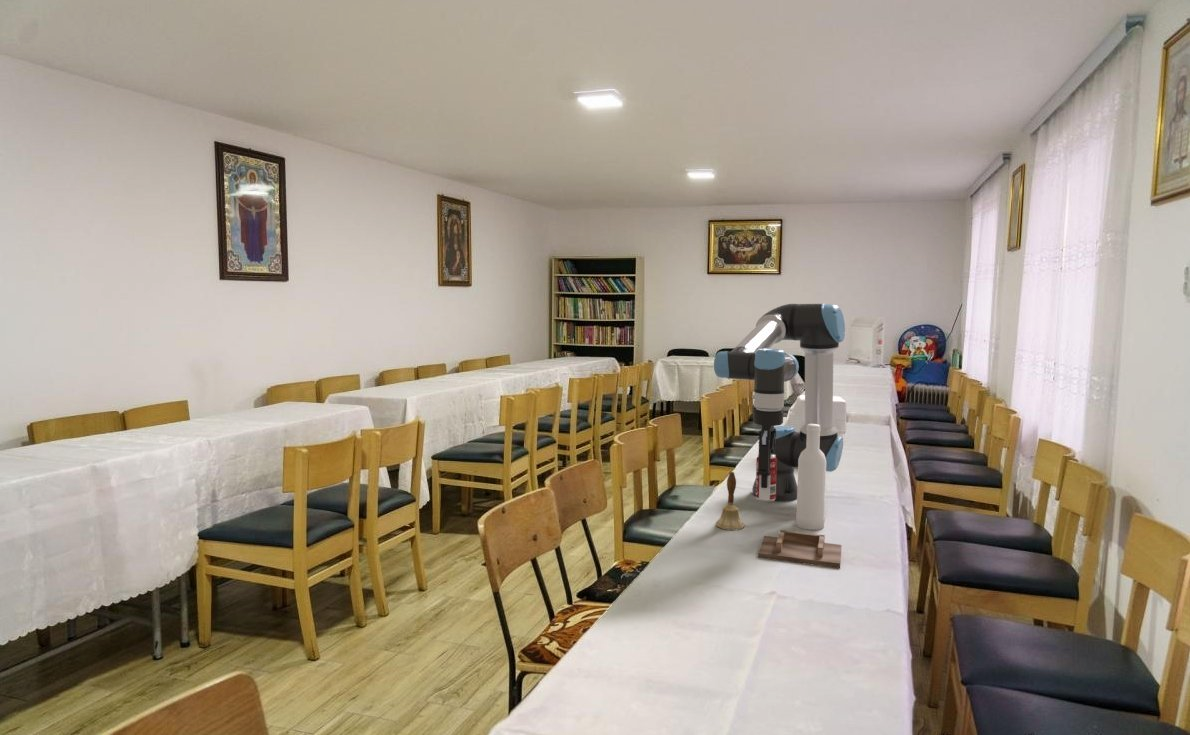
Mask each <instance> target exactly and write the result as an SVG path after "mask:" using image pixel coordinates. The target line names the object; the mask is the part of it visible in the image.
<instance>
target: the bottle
mask: <svg viewBox="0 0 1190 735" xmlns="http://www.w3.org/2000/svg"><path fill="white" fill-rule="evenodd" d="M806 430H807V441H806V449H804V450H803V451H802V452H801V454H800V456H799V459H798V468H797V499H796V513H795V521H796V522H795V524H796V526H797V527H798V528H800V529H804V530H807V529H808V530H810V531H818V530H823V528H825V519H826V517H825V513H826V512H825V511H826V510H825V508H826V507H825V506H826V505H825V504H826V487H827V486H826V484H827V483H826V482H827V471H826V458H825V455H824V453H823V452H822V451H821V450H820V449H819V443H820V431H821V430H820V425H818V424H808V425H807V428H806Z"/></svg>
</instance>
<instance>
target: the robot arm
mask: <svg viewBox="0 0 1190 735" xmlns="http://www.w3.org/2000/svg"><path fill="white" fill-rule="evenodd" d="M845 332H846V324H845V318H844V313H843V311H842V309H841V308H840V306H838V305H837V304H831V303H788V304H787V303H785V304H783V305H780V306H777V307H775V308H772V309H771V310H768V311H767V312H766V313H764V314H763V315H762V316H760V318H759V319H758V320H757V322H756V324H755V327H754V328H752V330H751V331H750V332H749V333H748V334H746V336H745V337H744V338H742V340H741V341H740V342H739V343H738V344H737V345H736V346H735V347H733V349H732V350H731V351H729V350H725V351H718V352H717V353H716V355H715V356H714V361H713V370H714V373H715V376H717V377H718V378H722V379H728V380H731V379H732V380H743V381H744V380H747V381H753V382H754V385H753V392H754V393H753V394H752V396H751V398H752V399H754V400H753V407H754V409H753V415H752V418H753V419H752V422H753V423H754V424H755V425H761V429H760V431H758V443H757V444H758V453H759V470H758V472H756V471H755V475H756V474H757V475H759V499H762V500H770V477H771V475H770V460H771V453H773V454H776V458H777V482H776V499H775V500H774V501H773V502H791V501H794V500H797V486H798V482H797V480H796V478H795V472H794V471H795V468H796V469H798V459H799V456H800V454H801V452H802V451H803V450H804V449H806V441H807V430H806V428H807V425H808V424H818V425H820V430H821V431H820V443H819V449H820V450H821V451H822V452H823V453H824V455H825V458H826V472H834V471H836V469H837V468H838V467H839V465H840V462H841V458H842V455H843V449H844V438H843V437H840V436H838V431H837V429H836V428H835V427H834V426H833V397H834V352H835V351H836V350H837V349H838V348H839V347H840V346H839V344H840V343H842V342H843V341H844V340H845ZM781 341H799V348H800V349H801V350H802V351H803V352H804V395H805V424H804V425H803V426H802V427H801V428H800V432H795V431H796V430H795V427H791V426H784V425H783V423H784V410H783V408H784V407H785V390H784V389H785V382H789V381H790V380H792V379H793V378H795V377H796V375H797V374H798V372H799V368H800V366H799V361H798V360H797V358H796V357H795V356H794V355H792V354H791V353H785V351H784V350H783V349H781V348H772V347H773V345H774V344H778V343H780V342H781ZM751 489H752V490H751V491H752V492H751V493H752V496H753V497H755V498H756V478H755V479H754V481H753V484H752V488H751Z"/></svg>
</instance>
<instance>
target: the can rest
mask: <svg viewBox="0 0 1190 735" xmlns="http://www.w3.org/2000/svg"><path fill="white" fill-rule="evenodd" d="M757 558H758V559H759V558H760V559H766V560H774V561H783V562H788V561H789V562H791V563H796V564H797V563H798V564H804V563H805V564H804V565H811V564H813V565H812V566H819V565H820V566H821V567H827V568H834V567H835V569H841V562H842V559H841V558H842V544H837V543H829V542H825V534H817V533H816V534H815V533H808V532H799V531H790V530H782V529H780V530H779V534H778V536H769V535H764V536H763V539H762V541H761V544H760V546H759V549H758V551H757ZM820 566H819V567H820Z"/></svg>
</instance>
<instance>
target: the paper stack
mask: <svg viewBox="0 0 1190 735" xmlns="http://www.w3.org/2000/svg"><path fill="white" fill-rule="evenodd" d="M847 423H848V422H847V402H846V400H845V399H843V398H842V397H841V396H833V426H834V427H835V428H836V429H837V431H838V436H840V437H842V438H843V436H845V434H846V432H847ZM804 424H805V394H804V395H802V394H800V395H798V396H797V398H796V400H795V402H794V405H793V407H792V410H791V411H789V413H788V419H787V420H786V422H785V424H784V425H783V426H791V427H795V430H796V431H795V432H800V428H801V427H802V426H803V425H804Z"/></svg>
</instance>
